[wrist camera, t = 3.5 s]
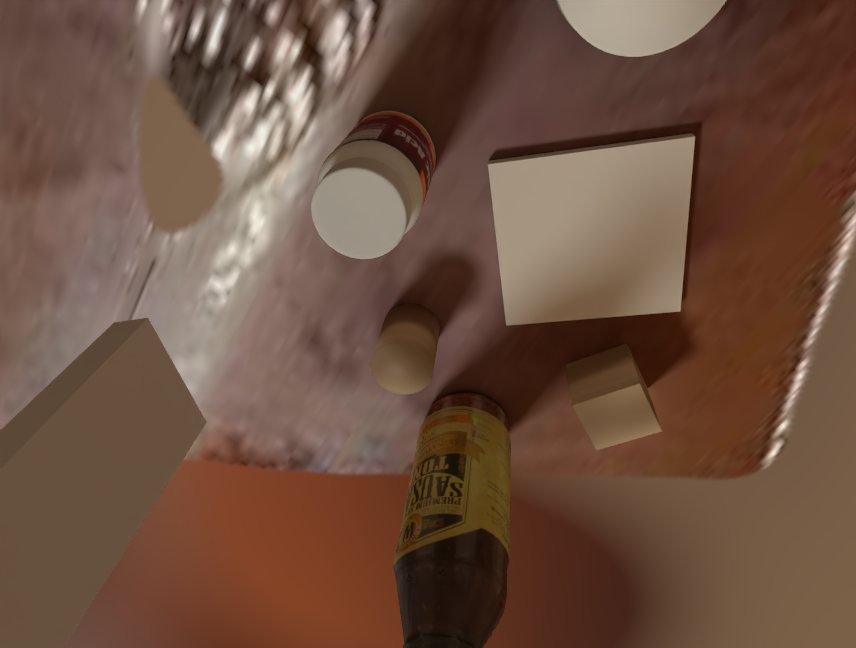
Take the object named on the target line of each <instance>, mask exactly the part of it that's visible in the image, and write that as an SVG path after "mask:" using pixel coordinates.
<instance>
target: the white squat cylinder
mask: <svg viewBox="0 0 856 648" xmlns="http://www.w3.org/2000/svg"><path fill="white" fill-rule="evenodd" d="M726 1H727V0H555V2H556V5H557V7H558V9H559V10H560V12H561V14H562V15H563V17H564V18H565V19H566V20H567V22H568V23H569V24H570V25H571V26H572V27H573V28H574V29H575V30H576V31H577V32H578V33H579V34H580V35H581V36H582V37H583V38H584V39H585V40H586V41H587V42H589V43H590V44H592V45H593V46H595V47H596V48H598V49H601V50H603V51H605V52H607V53H611V54H614V55H619V56H627V57H640V56H647V55H652V54H656V53H659V52H663V51H665V50H668V49H670V48H673V47H675V46H677V45H679V44H680V43H682V42H684V41H686V40H687V39H689V38H690V37H691V36H693V35H694V34H696V33H697V32H698V31H699V30H700V29H702V28H703V27H704V26H705V25H706V24H707V23H708V22H709V21H710V20H711V19H712V18H713V17H714V16H715V15H716V14H717V13H718V11H719V10H720V9H721V7H722V6H723V5H724V3H725V2H726Z"/></svg>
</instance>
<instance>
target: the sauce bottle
mask: <svg viewBox="0 0 856 648" xmlns="http://www.w3.org/2000/svg"><path fill="white" fill-rule="evenodd" d="M510 465H511V440H510V436H509V423H508V419H507V417H506V415H505V413H504V411H503V410H502V409H501V407H500V406H499V405H498V404H496V403H495V402H494V401H492V400H491V399H488V398H487V397H485V396H483V395H480V394H473V393H457V394H452V395H448V396H445V397H442V398H440V399H439V400H438V401H436V402H434V403H433V404H432V406H431V407H430V409H429V411H428V413H427V415H426V417H425V420H424V422H423V424H422V426H421V428H420V432H419V437H418V442H417V447H416V452H415V457H414V463H413V468H412V474H411V479H410V483H409V488H408V494H407V500H406V505H405V511H404V516H403V521H402V526H401V531H400V536H399V542H398V546H397V551H396V556H395V563H394V571H395V576H396V584H397V591H398V598H399V605H400V613H401V621H402V628H403V636H404V643H405V644H404V645H403V648H483V646H484V645H485V643H486V642H487V640H488V639H489V638H490V637H491V636H492V632H493V630H494V629H495V628H496V626H497V625H498V624H499V621H500V619H501V618H502V615H503V613H504V609H505V604H506V597H507V566H508V563H509V535H510V534H509V533H510V531H509V530H510Z"/></svg>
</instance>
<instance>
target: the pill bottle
mask: <svg viewBox="0 0 856 648" xmlns="http://www.w3.org/2000/svg"><path fill="white" fill-rule="evenodd" d="M435 161H436V156H435V149H434V145H433V142H432V140H431V137H430V135H429V134H428V132H427V131H426V129H425V128H424V127H423V126H422V125H421V124H420V123H419V122H418V121H417V120H416V119H414V118H412V117H411V116H409V115H407V114H404V113H401V112H397V111H381V112H376V113H373V114H371V115H369V116H367V117H365V118H364V119H363V120H361V121H360V122H359V123H358V124H357V125H356V126H355V127H354V129H353V130H352V131H351V132H350V133H349V134H348V136H347V137H346V138H345V139H344V140H343V141H342V142H341V144H340V145H339V146H338V147H337V148H336V149H335V150H334V151H333V152H332V153H331V154H330V155H329V156H328V158H327V159H326V161H325V162H324V164H323V165H322V168H321V170H320V173H319V176H318V183H317V187H316V189H315V191H314V194H313V198H312V203H311V211H312V218H313V221H314V224H315V227H316V229H317V231H318V233H319V234H320V236H321V237H322V238H323V240H324V241H325V242H326V243H327V244H328V245H329V246H330V247H332V248H333V249H335V250H336V251H338V252H339V253H341V254H344V255H346V256H349V257H352V258H358V259H370V258H376V257H379V256H382V255H384V254H386V253H388V252H389V251H391V250H392V249H393V248H394V247H395V246H396V245H397V244H398V243H399V242H400V240H401V239H402V237H403V235H404V234H405V233H407V232H408V231H409V230H410V229H411V228H412V226H413V225H414V224H415V222H416V221H417V219H418V217H419V215H420V212H421V210H422V207H423V204H424V201H425V197H426V194H427V191H428V189H429V185H430V182H431V178H432V175H433V172H434V168H435Z"/></svg>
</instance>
